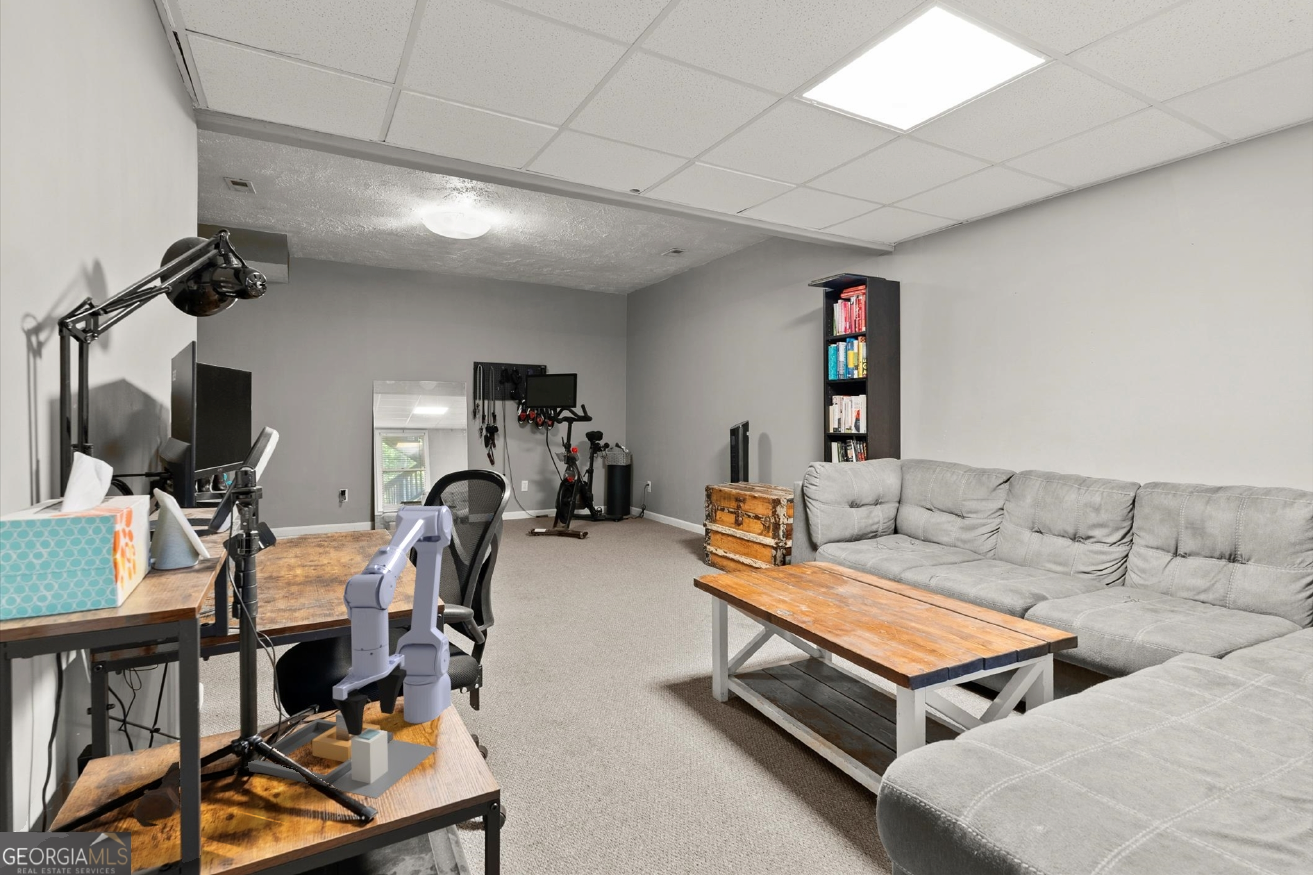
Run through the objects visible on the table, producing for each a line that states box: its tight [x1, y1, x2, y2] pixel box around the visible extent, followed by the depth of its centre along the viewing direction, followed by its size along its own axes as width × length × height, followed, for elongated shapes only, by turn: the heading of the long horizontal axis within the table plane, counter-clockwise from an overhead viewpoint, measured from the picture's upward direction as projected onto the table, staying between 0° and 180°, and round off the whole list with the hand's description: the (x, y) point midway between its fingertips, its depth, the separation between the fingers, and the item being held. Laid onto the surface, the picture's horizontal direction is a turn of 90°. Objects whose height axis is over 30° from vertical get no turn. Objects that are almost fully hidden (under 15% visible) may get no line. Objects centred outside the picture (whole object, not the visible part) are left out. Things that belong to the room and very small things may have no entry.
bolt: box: [132, 760, 180, 828], centre depth 104 cm, size 6×5×15 cm
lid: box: [330, 739, 439, 800], centre depth 111 cm, size 16×11×1 cm, turn 163°
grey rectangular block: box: [335, 711, 356, 742], centre depth 117 cm, size 3×3×7 cm
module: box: [351, 728, 388, 784], centre depth 109 cm, size 4×4×7 cm
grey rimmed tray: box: [248, 718, 394, 785], centre depth 116 cm, size 16×18×4 cm
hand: (371, 722), depth 108 cm, fingers open, 7 cm apart
